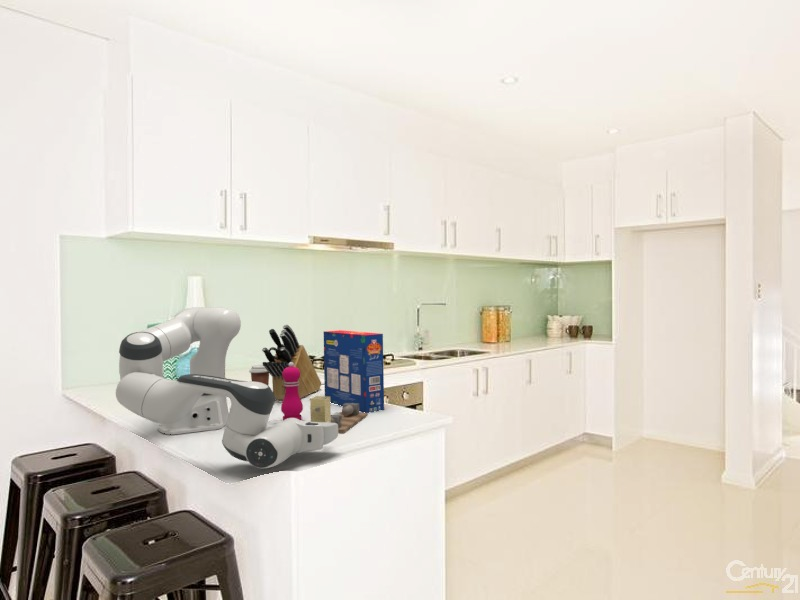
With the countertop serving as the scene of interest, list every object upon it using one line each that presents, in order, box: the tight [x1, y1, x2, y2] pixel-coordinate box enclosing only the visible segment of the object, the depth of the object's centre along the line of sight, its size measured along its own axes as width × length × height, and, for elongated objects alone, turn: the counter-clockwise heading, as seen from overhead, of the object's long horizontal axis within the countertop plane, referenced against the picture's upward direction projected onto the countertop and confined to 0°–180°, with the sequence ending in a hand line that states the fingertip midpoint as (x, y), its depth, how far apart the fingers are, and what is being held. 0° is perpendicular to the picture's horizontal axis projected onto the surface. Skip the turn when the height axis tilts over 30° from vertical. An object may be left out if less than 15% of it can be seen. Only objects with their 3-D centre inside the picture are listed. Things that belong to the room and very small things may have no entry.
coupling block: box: [309, 395, 332, 423], centre depth 161 cm, size 5×4×12 cm
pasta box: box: [323, 329, 385, 414], centre depth 206 cm, size 28×8×28 cm, turn 39°
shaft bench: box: [331, 403, 369, 434], centre depth 178 cm, size 24×10×4 cm, turn 166°
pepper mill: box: [280, 362, 304, 421], centre depth 183 cm, size 7×7×20 cm
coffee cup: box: [248, 364, 270, 386], centre depth 235 cm, size 9×9×12 cm
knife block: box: [261, 324, 322, 401], centre depth 225 cm, size 11×35×31 cm, turn 166°
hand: (311, 423), depth 153 cm, fingers open, 8 cm apart
